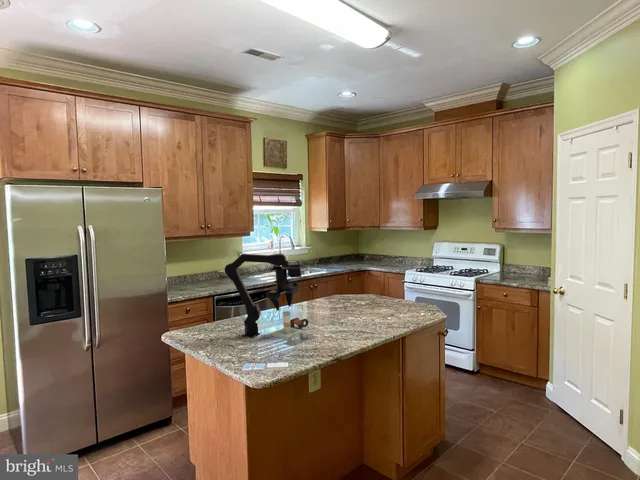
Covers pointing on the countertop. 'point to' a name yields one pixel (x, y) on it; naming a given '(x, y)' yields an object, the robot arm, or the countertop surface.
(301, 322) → the pottery mug
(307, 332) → the cylinder
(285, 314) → the banded fuse
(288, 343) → the block
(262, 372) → the countertop surface
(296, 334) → the tray
